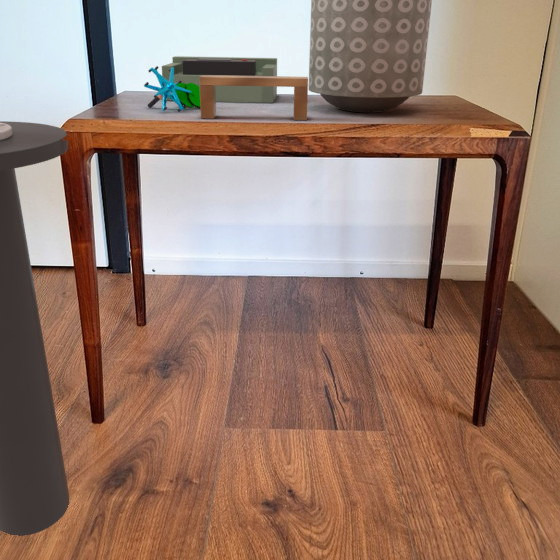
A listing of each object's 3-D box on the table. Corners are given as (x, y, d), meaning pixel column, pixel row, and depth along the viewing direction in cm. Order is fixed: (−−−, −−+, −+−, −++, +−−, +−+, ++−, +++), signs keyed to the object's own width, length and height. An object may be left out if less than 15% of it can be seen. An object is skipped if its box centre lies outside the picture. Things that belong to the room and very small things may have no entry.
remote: (182, 74, 107) (182, 59, 106) (187, 72, 112) (186, 57, 111) (254, 75, 107) (254, 60, 106) (256, 73, 112) (256, 58, 111)
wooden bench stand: (200, 118, 90) (199, 76, 87) (203, 115, 93) (202, 75, 90) (306, 120, 90) (308, 78, 87) (306, 117, 92) (307, 76, 90)
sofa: (272, 103, 108) (273, 61, 105) (163, 100, 108) (161, 59, 106) (276, 95, 118) (277, 58, 115) (177, 93, 119) (175, 56, 116)
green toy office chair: (157, 99, 91) (147, 55, 93) (132, 122, 96) (123, 79, 97) (216, 115, 100) (206, 74, 102) (191, 135, 104) (182, 96, 106)
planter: (430, 118, 93) (445, -11, 86) (309, 116, 93) (313, -13, 86) (409, 103, 110) (419, -6, 103) (306, 101, 111) (310, -8, 103)
